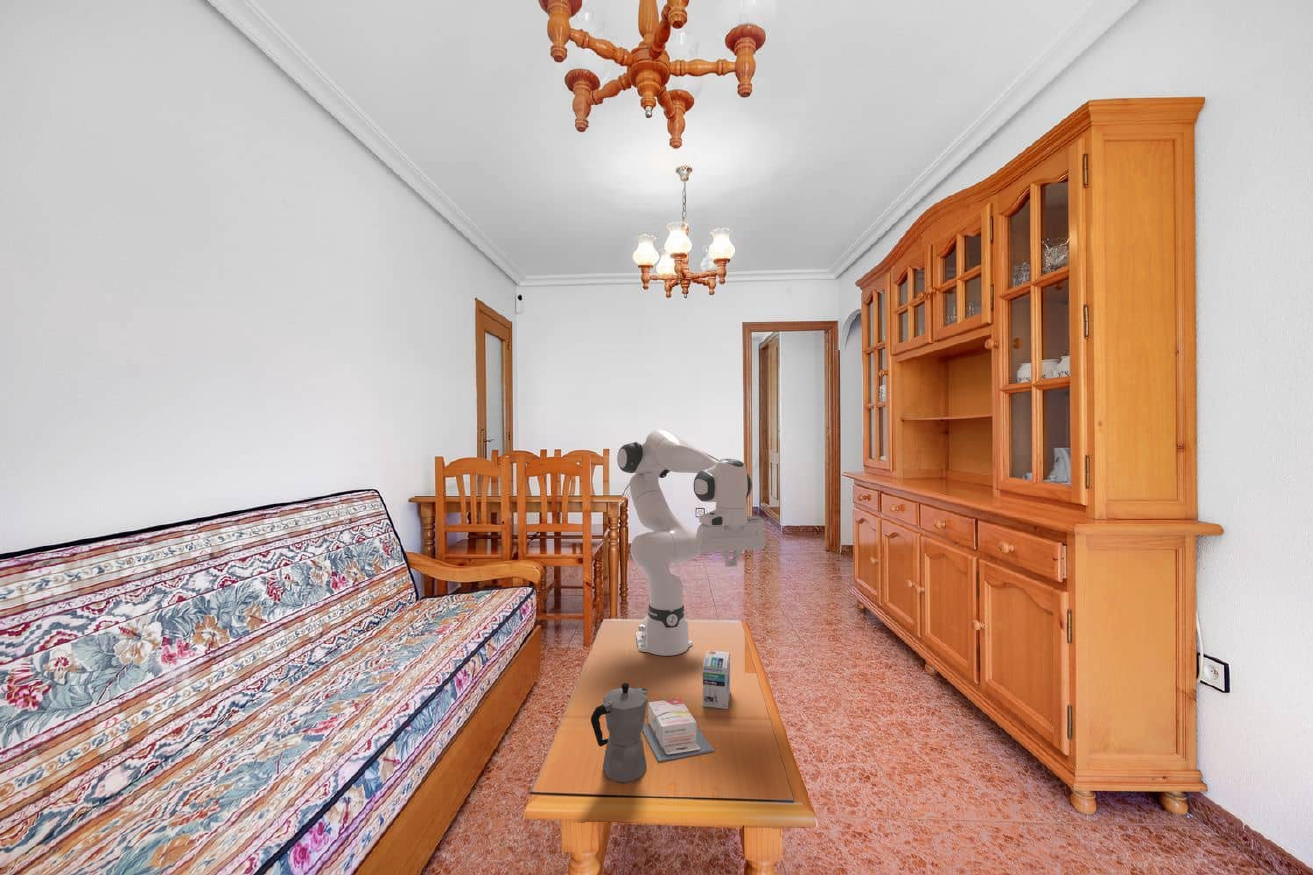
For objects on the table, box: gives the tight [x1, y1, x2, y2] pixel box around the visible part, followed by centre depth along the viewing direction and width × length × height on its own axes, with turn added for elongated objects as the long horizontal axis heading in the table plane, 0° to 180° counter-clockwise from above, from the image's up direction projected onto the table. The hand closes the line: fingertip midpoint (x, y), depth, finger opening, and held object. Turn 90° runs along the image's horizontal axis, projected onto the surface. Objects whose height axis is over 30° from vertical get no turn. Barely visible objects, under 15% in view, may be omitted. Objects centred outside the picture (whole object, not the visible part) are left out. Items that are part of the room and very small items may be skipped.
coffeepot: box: [590, 682, 650, 784], centre depth 108 cm, size 15×9×18 cm, turn 134°
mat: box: [641, 723, 715, 763], centre depth 119 cm, size 14×13×1 cm
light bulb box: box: [702, 650, 731, 710], centre depth 139 cm, size 11×7×11 cm, turn 168°
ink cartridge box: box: [647, 697, 700, 754], centre depth 120 cm, size 9×5×15 cm
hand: (731, 566), depth 144 cm, fingers closed
